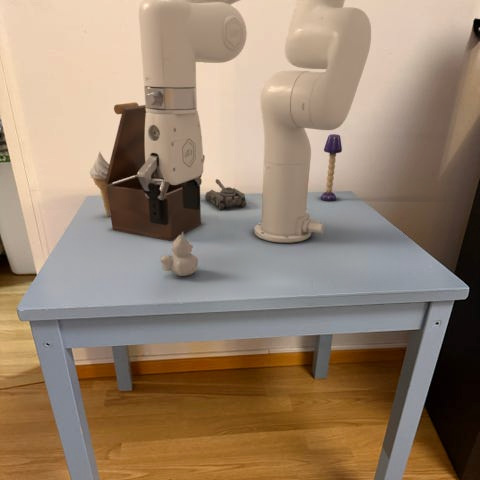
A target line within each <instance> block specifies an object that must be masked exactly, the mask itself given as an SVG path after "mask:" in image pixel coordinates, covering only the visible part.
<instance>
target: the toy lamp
mask: <svg viewBox="0 0 480 480" xmlns="http://www.w3.org/2000/svg"><path fill="white" fill-rule="evenodd" d="M341 138H342V137H341V135H340V134H335V133H331V134H329V135H328V136H327V139H326V142H325V144H324V148H323V152H324V153H328V157H329V158H328V166H327V167H328V169H327V177H326V185H325V186H326V187H325V191H324V192H323V193H322V194H321V195H320V200H321V201H325V202H335V201H336V200H337V196H336V194H335V193H334V192H333V186H334V175H335V168H336V157H337V154H341V153H342V151H343V146H342V139H341Z"/></svg>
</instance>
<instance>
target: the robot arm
mask: <svg viewBox="0 0 480 480" xmlns="http://www.w3.org/2000/svg"><path fill="white" fill-rule="evenodd" d="M240 1H241V0H142V1H141V2H140V4H139V7H138V22H139V36H140V48H141V59H142V60H141V64H142V74H143V75H142V76H143V86H144V87H143V89H144V103H145V104H144V105H145V106H146V118H145V164H144V165H143V166H142V167H141V169H140V170H139V171H138V173H137V176H138V179H139V181H140V183H141V185H142V186H141V187H142V190H143V191H144V192H145V196H146V198H148V200H149V213H150V222H151V223H156V224H161V225H167V224H169V214H168V199H164V198H165V195H166V192H167V190H168V187H169V184H171V185H178V184H181V183H184V182H185V183H186V184H182V190H183V207H184V208H188V209H194V210H199V209H201V185H202V182H203V181H202V176H203V173H204V163H205V158H206V156H205V154H204V151H203V138H202V137H203V135H202V128H201V121H200V116H199V115H200V114H199V111H198V103H197V102H198V101H197V100H198V98H197V96H198V95H197V63H205V64H207V63H209V64H223V63H227V62H230V61H232V60H234V59H236V58H237V57H238V56H239V55H240V54H241V53H242V51H243V50H244V47H245V45H246V42H247V35H248V34H247V26H246V22H245V19H244V17H243V15H242V14H241V13H240V11H239V10H238V9H237V8H235V7H234V6H233V4H235V3H237V2H240ZM345 1H346V0H296V3H295V7H294V10H293V13H292V17H291V20H290V23H289V26H288V30H287V34H286V38H285V41H284V42H285V43H284V55H285V58H286V61H287V62H288V63H290V64H291V65H292V66H293V67H297V68H301V69H308V70H281V71H277V72H275V73H273V74H271V75H270V76H269V77H268V78H267V79H266V80H265V81H264V82H263V85H262V88H261V91H260V111H261V119H262V125H263V167H262V169H263V171H262V197H261V199H262V200H261V222H259V223H256V225H254V227H253V233H254V235H255V236H256V237H258V238H259V239H261V240H264V241H268V242H272V243H280V244H290V243H291V244H292V243H299V242H303V241H305V240H308V239H309V238H310V237H311V236H312V232H313V233H314V234H323V232H324V230H325V225H324V224H323V223H322V221H319V220H312V218H310V215H311V213H310V212H307V206H308V205H307V203H308V193H309V182H310V181H309V180H310V168H311V159H312V148H311V142H310V139H309V136H308V134H307V132H306V129H311V130H319V131H332V130H336V129H338V128H340V127H341V126H342V125H343V124H344V123H345V122H346V119H347V117H348V115H349V113H350V110H351V107H352V104H353V102H354V99H355V96H356V93H357V91H358V87H359V84H360V81H361V78H362V76H363V72H364V69H365V66H366V63H367V60H368V57H369V53H370V48H371V42H372V26H371V22H370V18H369V17H368V15H367V14H366V12H365V11H363V10H362V9H360V8H358V7H349V6H348V7H346V6H345V7H344V5H345ZM310 70H325V71H310ZM157 184H159V185H161V186H160V189H158V188H157V187H156V185H157ZM198 185H199V186H198Z"/></svg>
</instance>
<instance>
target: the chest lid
mask: <svg viewBox="0 0 480 480" xmlns="http://www.w3.org/2000/svg"><path fill="white" fill-rule="evenodd" d="M113 111H114V113H115V114H116V115H120V120H119V123H118V128H117V132H116V135H115V140H114V144H113V148H112V152H111V156H110V160H109V163H108V164H109V168H108V172H107V176H106V180H105V183H106V184H110V183H116V182H120V181H123V180H126V179H129V178H132V177H135V175H137V173H138V171H139V170H140V169H141V167H142V166H143V165H144V164H145V118H146V106H145V104H142V105H139V103H137V102H127V103H119V104H115V105H114V106H113Z"/></svg>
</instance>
